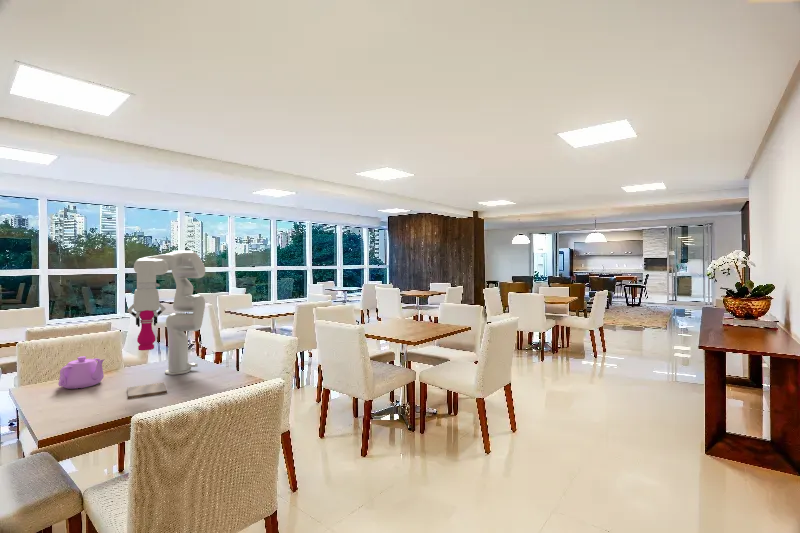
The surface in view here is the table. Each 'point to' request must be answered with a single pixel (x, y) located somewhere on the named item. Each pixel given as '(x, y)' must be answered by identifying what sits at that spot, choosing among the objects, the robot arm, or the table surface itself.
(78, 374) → the teapot
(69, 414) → the table surface
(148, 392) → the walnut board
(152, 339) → the pepper mill
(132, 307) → the robot arm
